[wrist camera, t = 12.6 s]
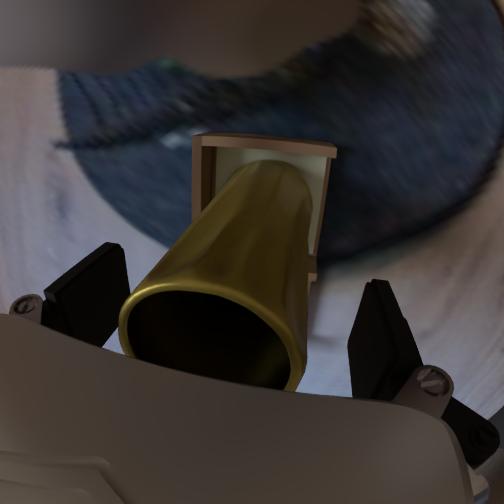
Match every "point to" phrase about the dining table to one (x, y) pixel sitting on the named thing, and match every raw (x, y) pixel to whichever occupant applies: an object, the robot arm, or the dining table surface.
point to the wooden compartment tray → (259, 148)
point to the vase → (232, 286)
